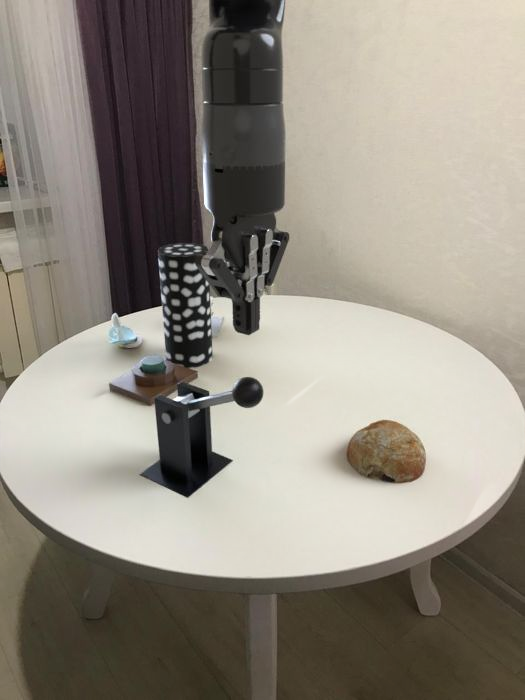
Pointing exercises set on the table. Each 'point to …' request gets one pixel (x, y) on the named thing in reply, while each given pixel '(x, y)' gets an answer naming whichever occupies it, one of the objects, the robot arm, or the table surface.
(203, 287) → the white-spotted black cylinder
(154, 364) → the button
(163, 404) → the bracket
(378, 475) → the bread roll
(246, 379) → the lever
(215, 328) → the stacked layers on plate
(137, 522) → the table surface
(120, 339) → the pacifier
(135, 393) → the button block
